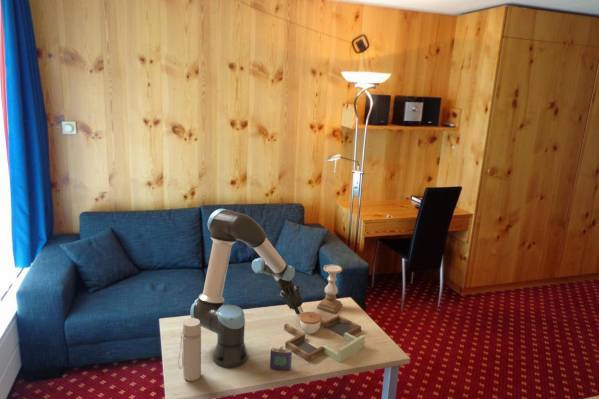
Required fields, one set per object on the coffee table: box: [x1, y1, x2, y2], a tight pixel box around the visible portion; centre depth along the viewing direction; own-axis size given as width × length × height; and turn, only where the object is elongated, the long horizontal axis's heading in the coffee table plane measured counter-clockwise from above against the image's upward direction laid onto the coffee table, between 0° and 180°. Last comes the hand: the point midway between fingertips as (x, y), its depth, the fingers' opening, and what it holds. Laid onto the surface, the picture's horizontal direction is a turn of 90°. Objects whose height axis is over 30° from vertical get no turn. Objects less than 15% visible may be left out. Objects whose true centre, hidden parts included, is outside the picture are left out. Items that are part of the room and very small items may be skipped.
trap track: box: [283, 314, 366, 363], centre depth 218 cm, size 36×39×6 cm
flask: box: [269, 345, 293, 372], centre depth 193 cm, size 9×3×11 cm, turn 88°
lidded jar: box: [299, 311, 322, 335], centre depth 224 cm, size 11×11×9 cm
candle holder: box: [316, 264, 343, 315], centre depth 247 cm, size 11×11×24 cm
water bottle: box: [177, 317, 202, 382], centre depth 182 cm, size 9×8×25 cm
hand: (303, 319), depth 229 cm, fingers closed
